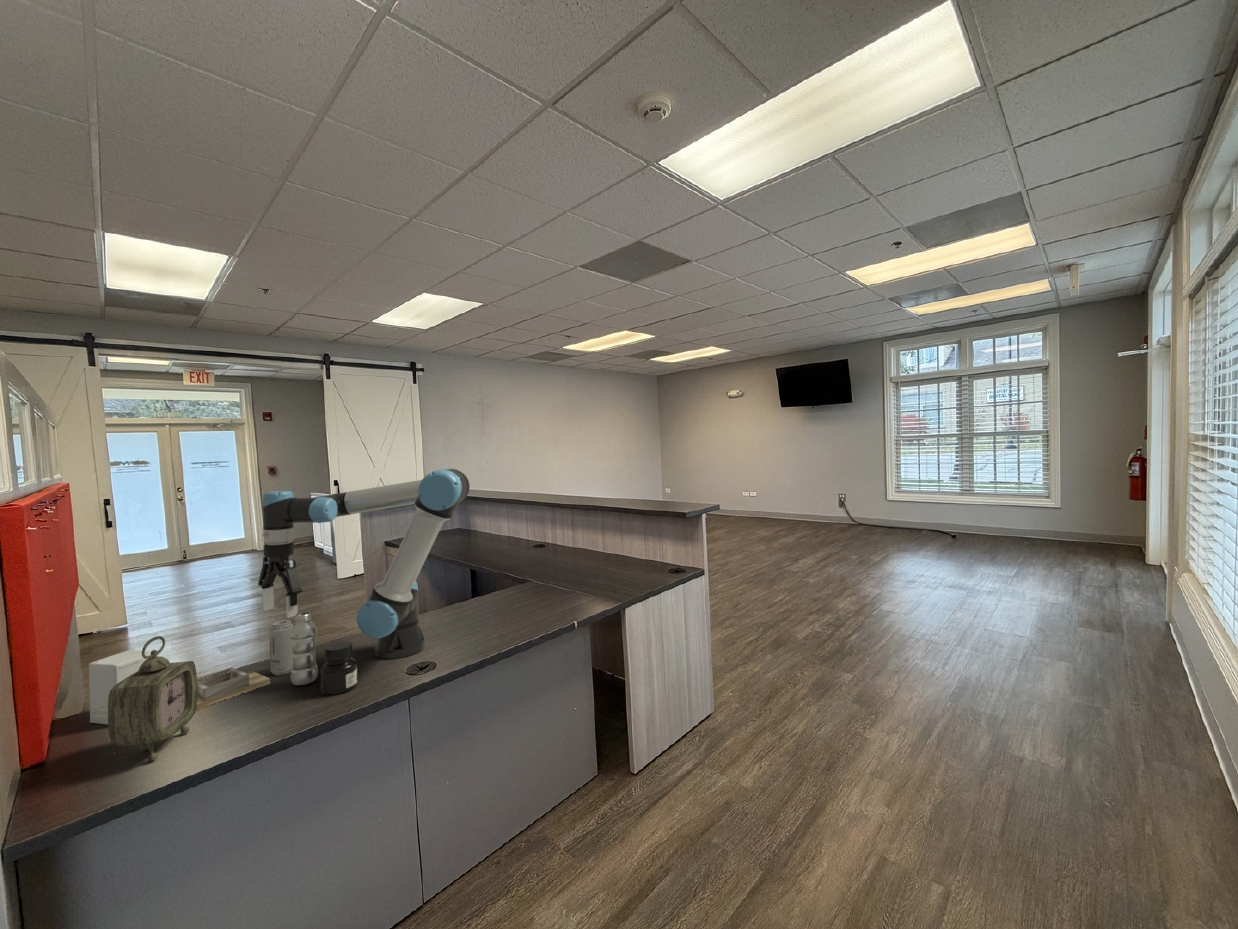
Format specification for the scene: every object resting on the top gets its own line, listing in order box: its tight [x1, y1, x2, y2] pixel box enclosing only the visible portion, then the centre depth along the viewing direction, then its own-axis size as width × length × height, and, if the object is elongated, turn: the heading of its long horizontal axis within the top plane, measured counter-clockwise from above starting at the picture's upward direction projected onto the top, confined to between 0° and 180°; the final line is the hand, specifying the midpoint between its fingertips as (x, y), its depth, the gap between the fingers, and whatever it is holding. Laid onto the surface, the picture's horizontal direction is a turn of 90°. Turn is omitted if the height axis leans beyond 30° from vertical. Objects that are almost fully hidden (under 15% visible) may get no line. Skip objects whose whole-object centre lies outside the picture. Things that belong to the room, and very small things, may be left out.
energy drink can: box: [269, 619, 294, 676], centre depth 150 cm, size 6×6×15 cm
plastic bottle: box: [290, 611, 319, 686], centre depth 142 cm, size 6×7×20 cm
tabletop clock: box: [107, 635, 198, 762], centre depth 111 cm, size 14×9×25 cm, turn 12°
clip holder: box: [195, 666, 271, 712], centre depth 137 cm, size 11×20×4 cm, turn 150°
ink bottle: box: [320, 640, 358, 696], centre depth 139 cm, size 10×9×12 cm
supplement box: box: [88, 649, 151, 725], centre depth 126 cm, size 9×9×15 cm
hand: (280, 612), depth 150 cm, fingers open, 13 cm apart
